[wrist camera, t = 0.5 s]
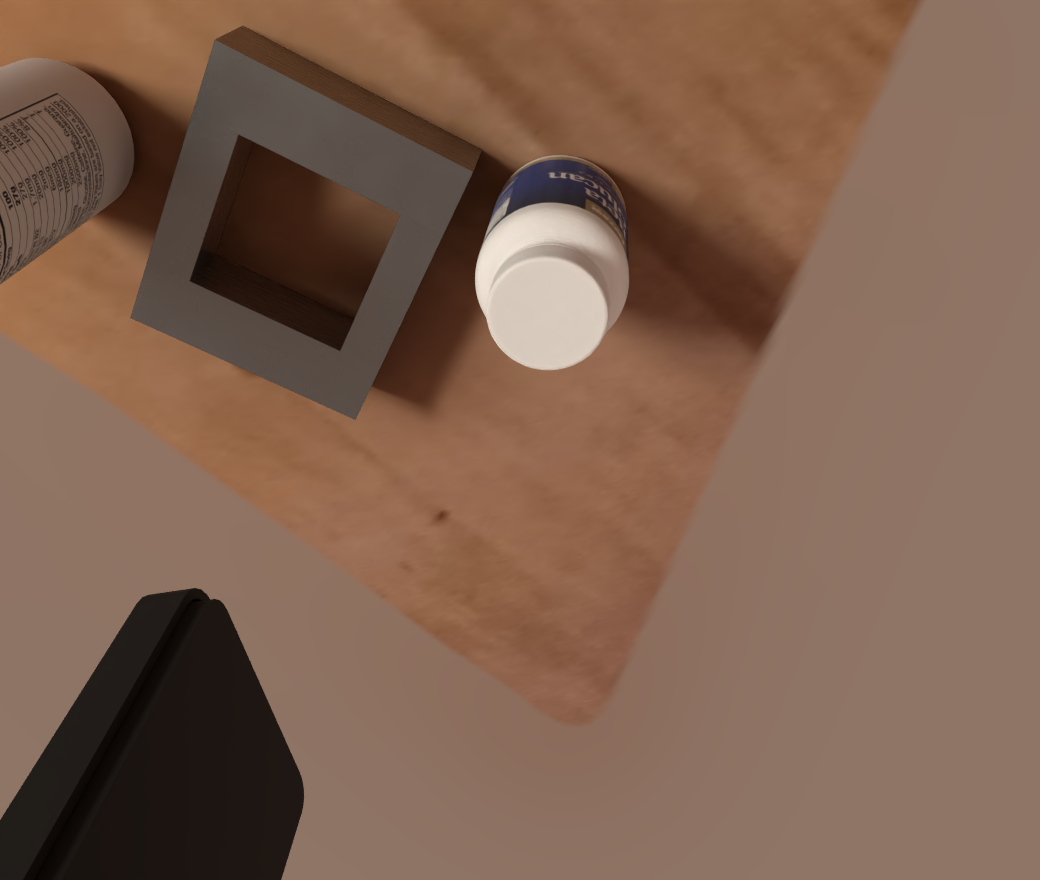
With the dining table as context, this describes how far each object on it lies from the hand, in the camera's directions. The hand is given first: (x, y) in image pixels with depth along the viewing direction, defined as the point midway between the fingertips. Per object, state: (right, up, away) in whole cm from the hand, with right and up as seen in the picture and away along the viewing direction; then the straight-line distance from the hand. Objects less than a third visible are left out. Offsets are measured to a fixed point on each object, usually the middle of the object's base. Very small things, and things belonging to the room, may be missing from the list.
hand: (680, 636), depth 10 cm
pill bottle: (0, +11, +30) cm, 32 cm away
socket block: (-10, +11, +31) cm, 34 cm away
